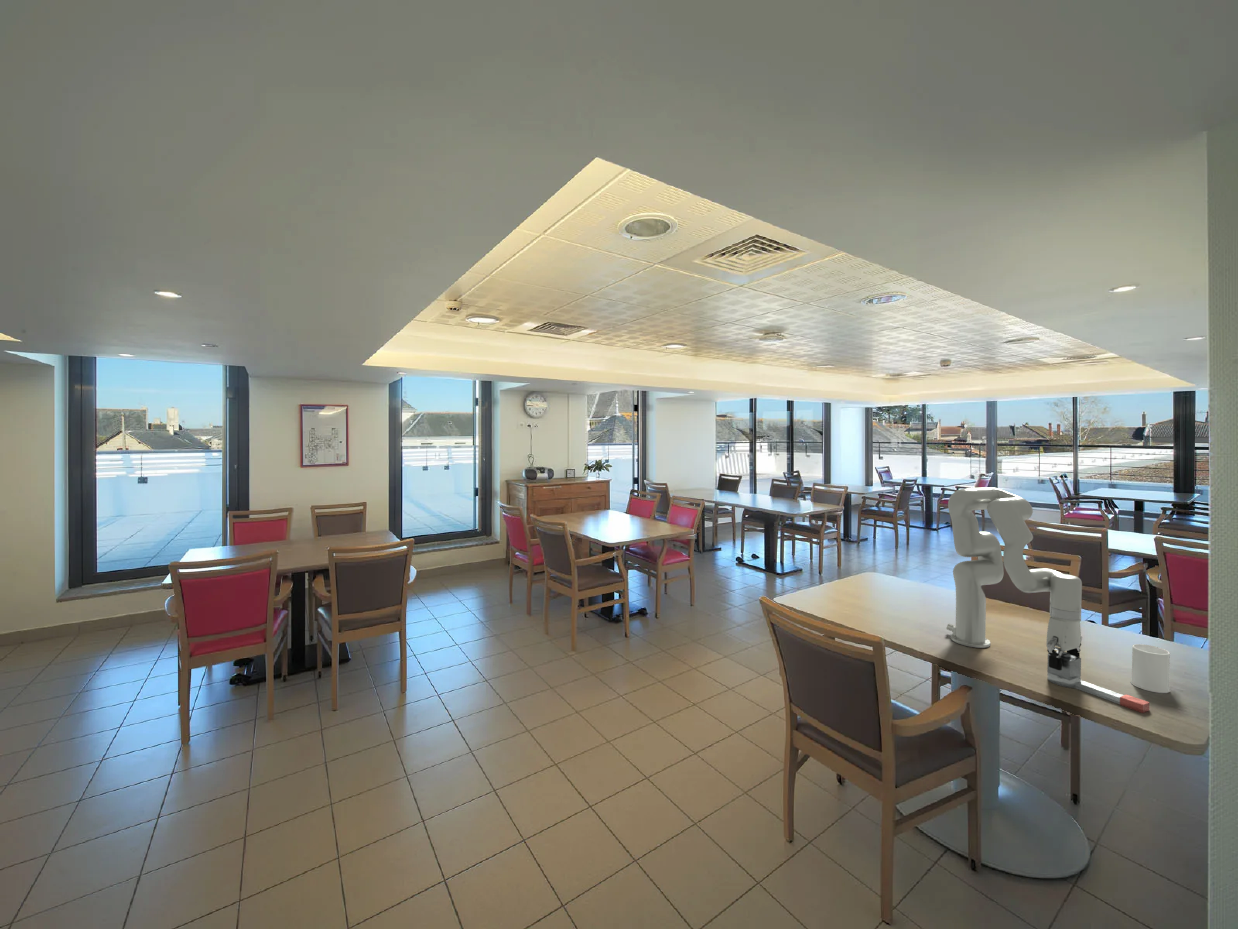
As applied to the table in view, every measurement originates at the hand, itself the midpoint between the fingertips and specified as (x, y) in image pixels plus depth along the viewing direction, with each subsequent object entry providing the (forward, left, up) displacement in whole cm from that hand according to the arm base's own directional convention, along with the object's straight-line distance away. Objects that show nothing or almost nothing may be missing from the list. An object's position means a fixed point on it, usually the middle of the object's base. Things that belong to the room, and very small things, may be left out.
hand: (1064, 665), depth 160 cm
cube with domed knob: (0, 0, -3) cm, 3 cm away
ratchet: (+8, 0, -5) cm, 9 cm away
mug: (+13, +22, -6) cm, 26 cm away
